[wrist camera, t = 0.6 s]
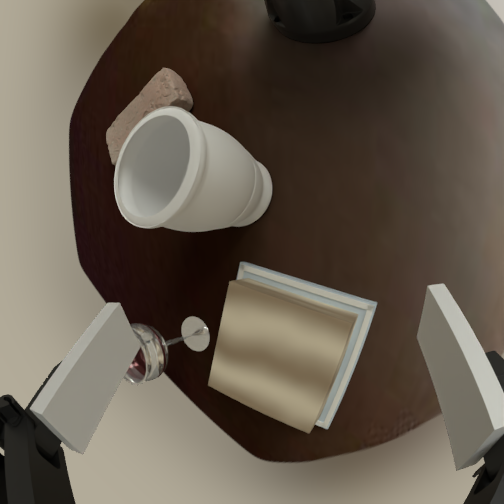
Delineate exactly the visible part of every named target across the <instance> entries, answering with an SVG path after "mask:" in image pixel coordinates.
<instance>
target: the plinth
mask: <svg viewBox="0 0 504 504" xmlns="http://www.w3.org/2000/svg"><path fill="white" fill-rule="evenodd" d="M358 315H359V314H356V313H353V312H350V311H347V310H344V309H341V308H338V307H334V306H331V305H328V304H325V303H322V302H319V301H316V300H313V299H310V298H307V297H304V296H301V295H298V294H295V293H292V292H289V291H286V290H283V289H280V288H277V287H274V286H271V285H268V284H265V283H262V282H259V281H256V280H253V279H250V278H245V279H239V280H233V281H230V282H229V287H228V291H227V296H226V301H225V305H224V310H223V315H222V319H221V324H220V329H219V334H218V339H217V343H216V348H215V353H214V358H213V363H212V368H211V373H210V378H209V383H208V385H209V386H210V387H212V388H214V389H216V390H218V391H220V392H221V393H223V394H225V395H227V396H229V397H231V398H233V399H235V400H237V401H239V402H241V403H243V404H245V405H247V406H249V407H251V408H253V409H255V410H257V411H259V412H261V413H263V414H265V415H268V416H270V417H272V418H274V419H276V420H279V421H281V422H283V423H285V424H288V425H290V426H292V427H295V428H297V429H299V430H302V431H304V432H307V433H310V432H311V430H312V429H313V427H314V425H315V424H316V422H317V421H318V419H319V417H320V416H321V413H322V411H323V409H324V406H325V404H326V402H327V399H328V397H329V394H330V392H331V390H332V387H333V385H334V382H335V380H336V377H337V374H338V372H339V369H340V367H341V364H342V361H343V359H344V356H345V353H346V350H347V347H348V345H349V342H350V339H351V336H352V333H353V330H354V327H355V324H356V321H357V318H358Z"/></svg>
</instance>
